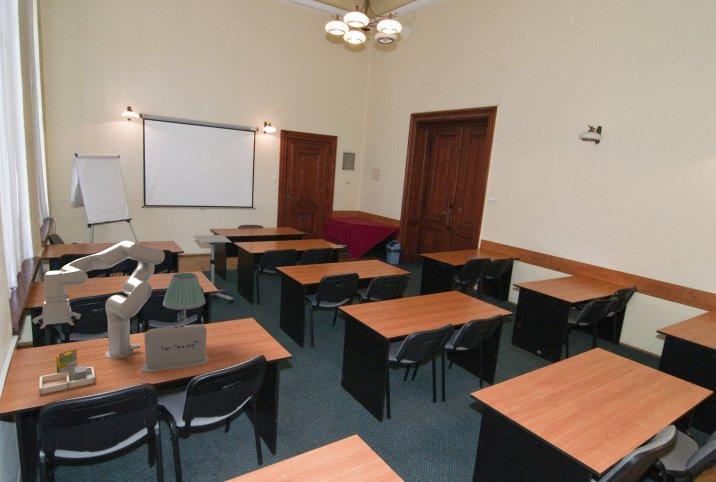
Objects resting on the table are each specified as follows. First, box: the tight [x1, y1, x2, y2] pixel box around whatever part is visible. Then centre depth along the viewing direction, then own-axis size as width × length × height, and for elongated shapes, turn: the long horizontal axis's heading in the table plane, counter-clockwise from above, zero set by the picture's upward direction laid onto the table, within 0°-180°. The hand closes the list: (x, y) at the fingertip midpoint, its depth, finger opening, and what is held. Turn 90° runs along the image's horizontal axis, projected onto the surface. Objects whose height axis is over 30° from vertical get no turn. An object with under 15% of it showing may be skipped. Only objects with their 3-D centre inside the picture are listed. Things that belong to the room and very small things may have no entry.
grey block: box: [75, 365, 87, 381], centre depth 176 cm, size 4×6×5 cm, turn 37°
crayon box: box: [55, 348, 78, 373], centre depth 181 cm, size 7×3×12 cm, turn 149°
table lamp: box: [162, 272, 207, 325], centre depth 217 cm, size 22×22×40 cm
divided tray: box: [38, 365, 96, 395], centre depth 174 cm, size 19×12×3 cm, turn 127°
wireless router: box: [140, 323, 210, 373], centre depth 197 cm, size 31×10×20 cm, turn 117°
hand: (58, 334), depth 178 cm, fingers open, 9 cm apart
